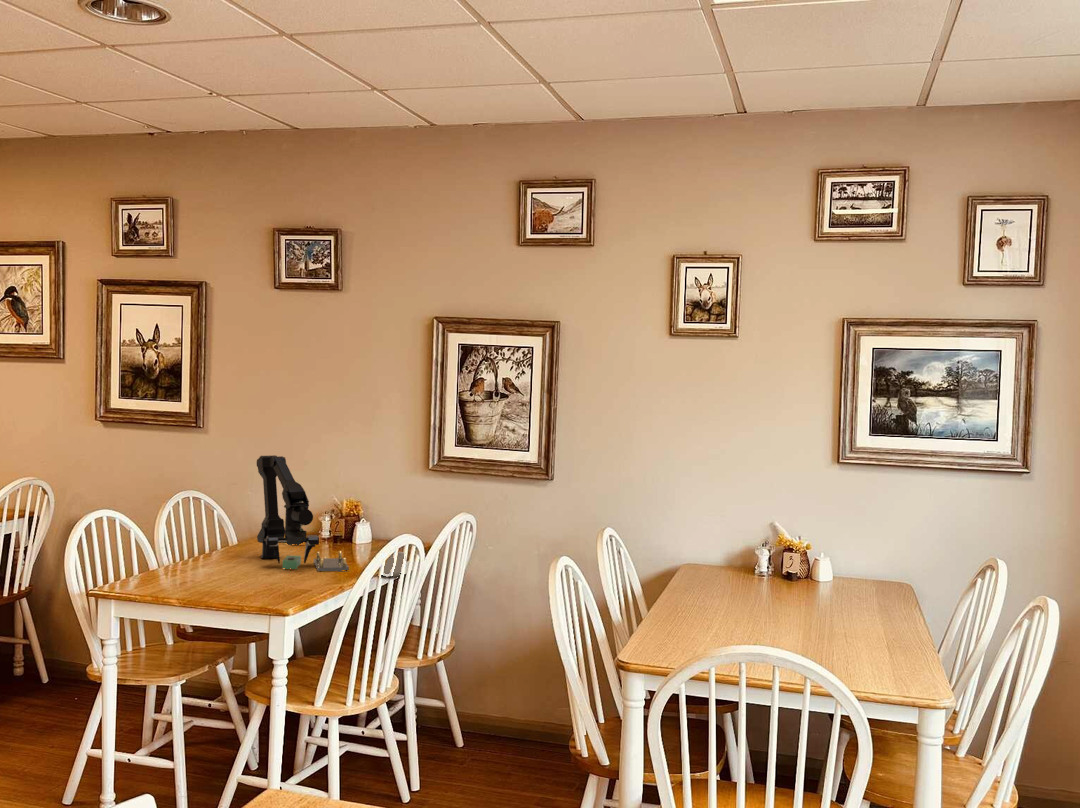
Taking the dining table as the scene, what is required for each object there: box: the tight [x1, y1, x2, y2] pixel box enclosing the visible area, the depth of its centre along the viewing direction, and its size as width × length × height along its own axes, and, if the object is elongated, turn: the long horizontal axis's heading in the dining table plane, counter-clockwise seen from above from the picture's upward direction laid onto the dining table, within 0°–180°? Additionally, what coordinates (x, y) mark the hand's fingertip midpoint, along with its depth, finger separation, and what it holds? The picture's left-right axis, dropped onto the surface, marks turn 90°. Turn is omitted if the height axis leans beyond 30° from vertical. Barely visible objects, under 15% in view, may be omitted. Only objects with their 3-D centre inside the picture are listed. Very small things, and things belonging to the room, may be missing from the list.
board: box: [282, 554, 302, 570], centre depth 356 cm, size 10×5×4 cm, turn 5°
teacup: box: [374, 551, 405, 578], centre depth 350 cm, size 14×11×8 cm
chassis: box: [313, 550, 350, 572], centre depth 359 cm, size 17×11×4 cm, turn 18°
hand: (291, 563), depth 356 cm, fingers open, 9 cm apart
